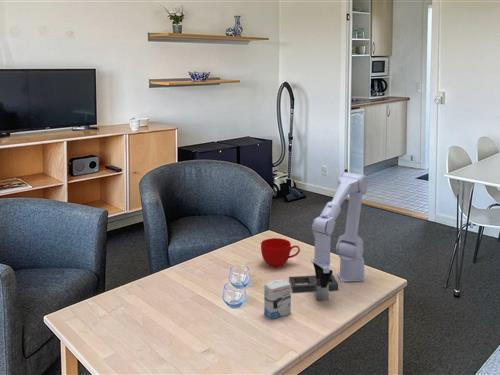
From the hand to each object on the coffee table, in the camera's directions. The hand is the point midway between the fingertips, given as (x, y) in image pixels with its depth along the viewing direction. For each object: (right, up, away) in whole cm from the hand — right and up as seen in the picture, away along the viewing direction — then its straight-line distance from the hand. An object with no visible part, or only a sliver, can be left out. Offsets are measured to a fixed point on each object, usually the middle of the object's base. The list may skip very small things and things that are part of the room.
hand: (321, 282), depth 189 cm
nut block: (0, -6, +2) cm, 6 cm away
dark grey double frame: (-2, -3, +11) cm, 12 cm away
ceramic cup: (-14, +2, +32) cm, 34 cm away
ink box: (-17, -9, -9) cm, 21 cm away
